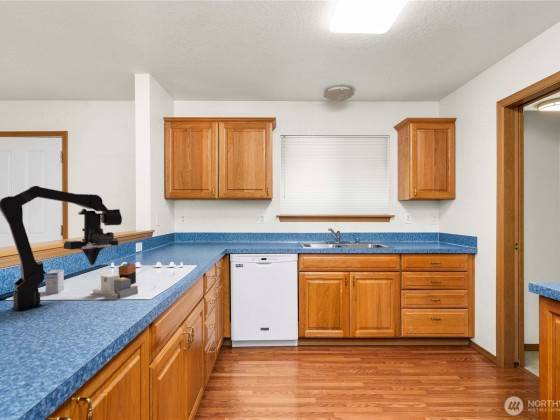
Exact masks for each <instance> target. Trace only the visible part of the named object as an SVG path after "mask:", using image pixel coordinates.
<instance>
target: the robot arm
mask: <svg viewBox="0 0 560 420" xmlns="http://www.w3.org/2000/svg"><path fill="white" fill-rule="evenodd" d="M37 198H41V199H46V200H52V201H58V202H63V203H69V204H74V205H76V206H78V207H81V208H82V209H81V210H80V211H79V212H78V214H77V215H79V216H80V215H82V216H83V217H84V218H83V224H84V225H83V228H82V229H81V230H82V232H83V239H81V240H67V241H65V242H64V243H63V249H65V250H82V252H83V253H84V255H85V256H86V259H87V261H88V262H89V264H90V266H94V265H95V263H96V262H97V259H98V256H99V254H100V252H101V251H102V250H104V249H105V248H106V247H105V246H108V245H110V246H119V240H118V238H115V235H114V232H112V231H111V232H110V231H108V232H105V233H104V229H103V228H102V225H101V224H103V225H104V226H121V225H122V222H123V216H122V213H121V210H120V208H119V209H117V208H115V209H108V208H107V206H106V204H104V203H103V199H102V197H101V196H100V195H98V194H89V193H83V194H82V193H73V192H67V191H63V190H57V189H53V188H46V187H42V186H39V185H34V186H30V187H29V188H27V189H26V190H24V191H22V192H20V193H17V194H16V195H14V196H13V195H12V196H10V195H9V196H5V197H2V198H1V199H0V212H1V214H2V216H3V218H4V220H6V223H7V224H8V226H9V229H10V233H11V236H12V239H13V242H14V244H15V249H16V251H17V255H18V257H19V261H20V277H19V278H18V279H17V281H15V282H14V283H13V286H14V288H15V290H16V291H15V290H14V291H13V292H12V297H13V299H12V300H13V303H12V304H13V306H11V308H10V309H12V310H13V311H17V312H23V311H27V310H31V309H35V308H38V307H41V306H42V304H41V292H40V291H39V288H38V287H39V285H41V284H42V283H43V282H44V280H45V274H46V273H47V272H46V271H45V270H44V263H43V262H41V261H36V259H35V257H34V254H33V253H34V252H33V249H32V247H31V244H30V241H29V237H28V233H27V232H26V227H25V225H24V221H23V219H24V217H23V216H24V213H23V212H24V211H23V206H24V205H25V204H28V203H30V202H31V201H33V200H34V199H37ZM99 212H101V213H99ZM104 245H105V246H104Z"/></svg>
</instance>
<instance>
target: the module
mask: <svg viewBox="0 0 560 420" xmlns="http://www.w3.org/2000/svg"><path fill="white" fill-rule="evenodd" d="M118 278H120V275H119V274H117V273H116V274H115V273H107V274H102V275H100V290H103V291H108V292H113V293H114V280H116V279H118Z"/></svg>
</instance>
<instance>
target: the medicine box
mask: <svg viewBox="0 0 560 420" xmlns="http://www.w3.org/2000/svg"><path fill="white" fill-rule="evenodd" d="M44 277H45V278H44V280H45V295H46V294H49V295H57V294H60V292H62V291H63V290H64V288H65V281H64V279H65V278H64V277H65V273H64V269H52V270H49V271H48V272H46V274H44Z"/></svg>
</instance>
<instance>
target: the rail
mask: <svg viewBox="0 0 560 420" xmlns="http://www.w3.org/2000/svg"><path fill="white" fill-rule="evenodd" d="M138 290H139V286H138V285H133V286H131V287H129V288H125V289H121V290H117V291H118V293H113V292H108V291H103V290H101V289H96V288H94V289H92V294H95V295H99V296H104V297H110V298H115V299H119V300H121V299H124V298H128V297H132V296H134V295H138V294H139V291H138Z"/></svg>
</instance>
